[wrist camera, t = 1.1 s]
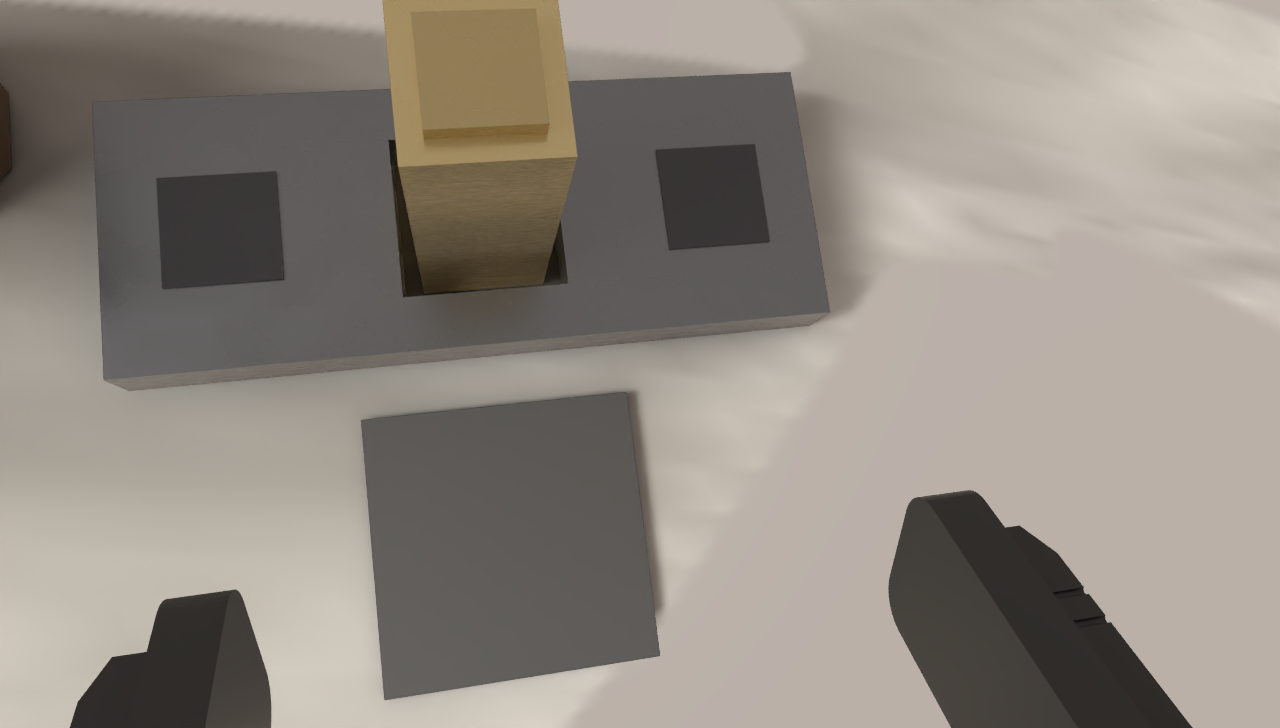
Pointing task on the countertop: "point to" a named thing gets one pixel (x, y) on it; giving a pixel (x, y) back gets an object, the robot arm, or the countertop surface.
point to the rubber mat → (506, 543)
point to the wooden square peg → (481, 136)
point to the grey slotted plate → (371, 245)
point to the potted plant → (4, 133)
